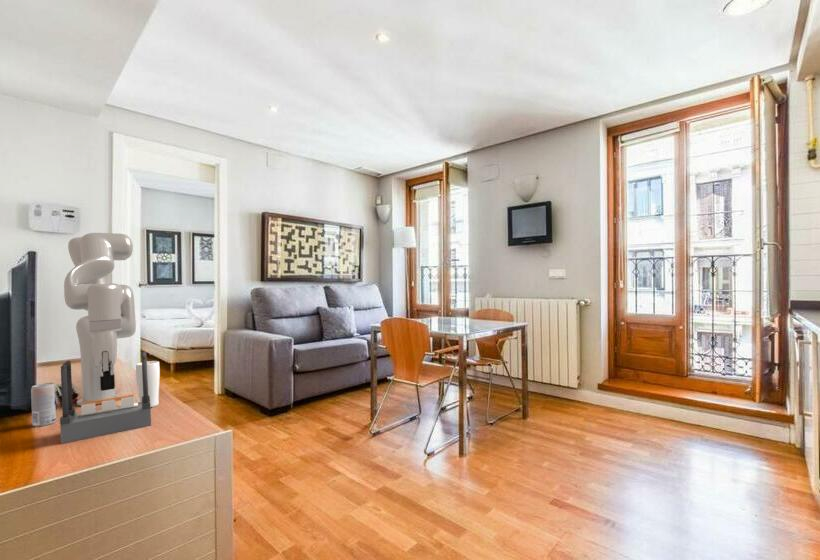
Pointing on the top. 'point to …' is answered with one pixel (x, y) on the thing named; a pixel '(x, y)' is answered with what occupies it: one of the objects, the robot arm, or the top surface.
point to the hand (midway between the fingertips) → (107, 389)
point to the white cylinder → (149, 381)
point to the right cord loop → (145, 383)
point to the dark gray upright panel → (66, 394)
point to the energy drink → (43, 404)
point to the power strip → (105, 423)
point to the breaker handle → (107, 405)
